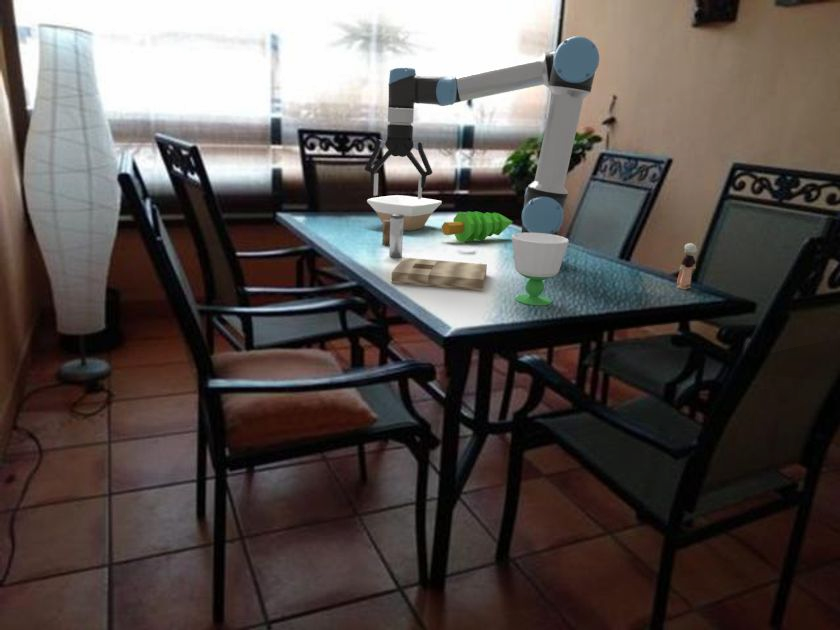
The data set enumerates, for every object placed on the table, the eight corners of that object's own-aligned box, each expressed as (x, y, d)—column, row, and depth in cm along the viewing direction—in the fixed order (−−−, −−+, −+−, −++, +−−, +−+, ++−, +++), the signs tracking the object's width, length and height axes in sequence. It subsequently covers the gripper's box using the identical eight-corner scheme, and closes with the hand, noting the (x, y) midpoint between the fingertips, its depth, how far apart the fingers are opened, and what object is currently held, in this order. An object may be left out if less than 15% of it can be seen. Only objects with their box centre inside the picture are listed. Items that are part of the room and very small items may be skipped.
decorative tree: (441, 206, 223) (509, 201, 237) (434, 234, 230) (500, 227, 244) (458, 223, 216) (526, 217, 230) (450, 251, 223) (517, 243, 237)
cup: (554, 294, 165) (561, 233, 160) (567, 309, 152) (575, 244, 147) (501, 292, 164) (507, 231, 159) (510, 307, 151) (517, 242, 146)
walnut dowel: (395, 243, 218) (395, 220, 215) (392, 245, 214) (393, 222, 212) (383, 242, 218) (384, 219, 216) (381, 244, 215) (381, 221, 212)
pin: (403, 255, 200) (404, 214, 196) (400, 258, 196) (402, 216, 192) (390, 254, 201) (391, 213, 197) (387, 257, 197) (389, 215, 193)
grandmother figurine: (680, 284, 182) (688, 240, 178) (694, 286, 180) (702, 242, 176) (671, 288, 176) (679, 243, 173) (685, 291, 174) (693, 246, 170)
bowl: (445, 227, 255) (447, 200, 251) (412, 235, 234) (413, 206, 231) (396, 219, 266) (397, 194, 263) (360, 226, 246) (361, 199, 243)
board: (486, 274, 181) (486, 264, 181) (482, 290, 164) (483, 279, 164) (403, 267, 185) (403, 257, 184) (391, 282, 168) (391, 271, 167)
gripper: (444, 126, 188) (439, 198, 195) (361, 121, 192) (360, 192, 198) (441, 126, 181) (436, 201, 188) (355, 121, 184) (354, 195, 191)
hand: (397, 197), depth 193 cm, fingers open, 13 cm apart
